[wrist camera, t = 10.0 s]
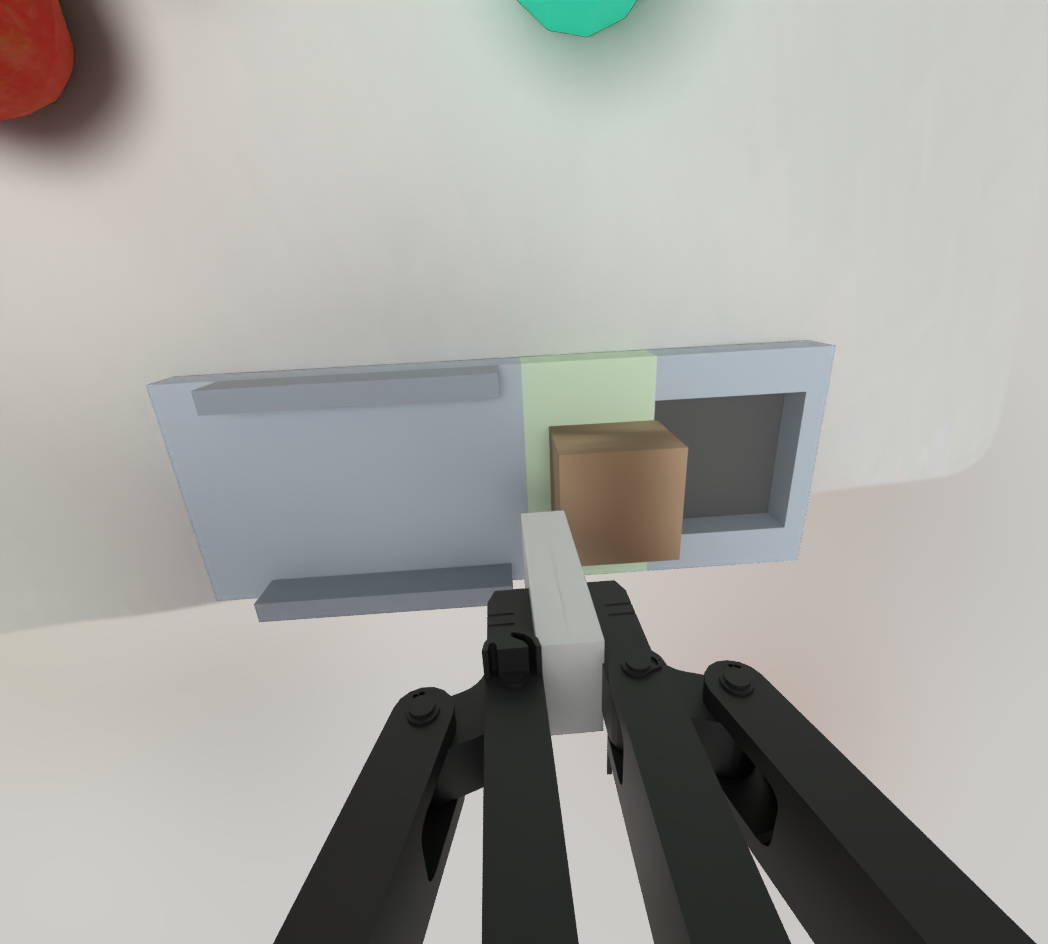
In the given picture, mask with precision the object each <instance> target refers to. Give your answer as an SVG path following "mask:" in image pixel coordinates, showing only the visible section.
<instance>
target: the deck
mask: <svg viewBox="0 0 1048 944" xmlns="http://www.w3.org/2000/svg"><path fill="white" fill-rule="evenodd" d="M835 347H836V346H835V345H829V344H824V343H819V342H814V341H792V342H774V343H757V344H739V345H722V346H704V347H687V348H669V349H652V350H634V351H616V352H599V353H581V354H564V355H546V356H529V357H511V358H493V359H476V360H458V361H441V362H423V363H406V364H388V365H370V366H353V367H335V368H318V369H300V370H283V371H265V372H247V373H230V374H212V375H195V376H177V377H172V378H168V379H165V380H162V381H159V382H155V383H152V384H149V385H146V387H147V390H148V393H149V396H150V399H151V402H152V405H153V408H154V411H155V414H156V417H157V420H158V423H159V426H160V429H161V432H162V435H163V438H164V441H165V444H166V447H167V450H168V454H169V457H170V460H171V463H172V466H173V469H174V472H175V475H176V478H177V481H178V484H179V487H180V490H181V493H182V496H183V499H184V502H185V505H186V508H187V511H188V514H189V517H190V520H191V523H192V526H193V529H194V532H195V535H196V539H197V542H198V545H199V548H200V551H201V554H202V557H203V560H204V563H205V566H206V569H207V572H208V575H209V578H210V581H211V584H212V587H213V590H214V593H215V596H216V599H217V601H222V600H237V599H251V598H259V599H258V600H257V601H256V603H255V604H254V606H255V609H256V612H257V615H258V619H259V622H266V621H281V620H295V619H308V618H322V617H336V616H349V615H350V616H351V615H364V614H378V613H393V612H406V611H419V610H434V609H448V608H462V607H476V606H488V601H489V599H490V598H491V596H492V594H493V593H494V591H499V590H512V589H513V583H512V580H522V579H524V562H523V544H522V527H521V513H535V512H549V511H551V482H550V448H549V426H564V425H581V424H598V423H615V422H632V421H649V420H658V421H659V422H660V423H661V424H662V425H663V426H664V427H666V428H667V429H668V430H669V431H670V432H671V433H672V434H673V435H675V436H676V437H677V438H678V439H679V440H680V441H681V442H683V443H684V444H685V445H686V446H687V447H688V457H687V470H686V482H685V495H684V508H683V520H682V533H681V546H680V559H679V560H669V561H654V562H640V563H625V564H610V565H595V566H581V567H582V570H583V573H584V575H592V574H607V573H621V572H636V571H650V570H663V569H678V568H692V567H706V566H721V565H736V564H749V563H762V562H763V563H764V562H778V561H792V560H798V556H799V550H800V545H801V539H802V533H803V527H804V522H805V516H806V510H807V505H808V500H809V494H810V488H811V483H812V477H813V471H814V466H815V460H816V454H817V449H818V443H819V438H820V432H821V426H822V421H823V415H824V409H825V404H826V398H827V392H828V387H829V381H830V376H831V370H832V364H833V359H834V353H835Z"/></svg>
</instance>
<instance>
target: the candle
mask: <svg viewBox="0 0 1048 944" xmlns="http://www.w3.org/2000/svg"><path fill="white" fill-rule="evenodd" d="M518 1H519V2H520V3H521V4H522V5H523V6H524V7H525V8H526V9H527V10H528V11H529V12H530V13H531V14H532V15H533V16H534V17H535V18H536V19H537V20H538V21H539V22H540V23H541V24H542V25H543V26H544V27H545V28H546V29H547V30H550V31H556V32H562V33H568V34H574V35H579V36H585V37H588V36H590V35H592V34H594V33H596V32H598V31H600V30H602V29H604V28H606V27H608V26H610V25H612V24H614V23H616V22H618V21H620V20H622V19H624V18H625V17H626V16H627V14H628V13H629V11H630V10H631V8H632V7H633V5H634V4H635V2H636V1H637V0H518Z"/></svg>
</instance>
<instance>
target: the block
mask: <svg viewBox="0 0 1048 944" xmlns="http://www.w3.org/2000/svg"><path fill="white" fill-rule="evenodd" d="M549 448H550V482H551V511H563V510H564V512H565V515H566V518H567V522H568V525H569V528H570V531H571V534H572V538H573V541H574V544H575V547H576V550H577V554H578V557H579V560H580V563H581V566H595V565H610V564H625V563H640V562H654V561H669V560H679V559H680V546H681V533H682V520H683V508H684V495H685V482H686V470H687V457H688V447H687V446H686V445H685V444H684V443H683V442H681V441H680V440H679V439H678V438H677V437H676V436H675V435H673V434H672V433H671V432H670V431H669V430H668V429H667V428H666V427H664V426H663V425H662V424H661V423H660V422H659V421H658V420H649V421H632V422H615V423H598V424H581V425H564V426H549Z"/></svg>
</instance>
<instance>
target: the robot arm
mask: <svg viewBox="0 0 1048 944" xmlns="http://www.w3.org/2000/svg"><path fill="white" fill-rule="evenodd" d="M521 527H522V544H523V562H524V580H525V589H512V590H499V591H494V593H493V594H492V596H491V598H490V599H489V601H488V612H487V613H488V617H487V625H488V626H487V640H486V641H485V643H484V645H483V649H482V657H483V667H484V676H483V677H482V679H481V680H480V681H479V682H478V683H477V684H476V685H474V686H473V687H472V688H470V689H468V690H466V691H464V692H461V693H459V694H456V695H453V696H450V695H449V694H447V693H446V692H445V691H444V690H441V689H438V688H435V687H426V688H420V689H417V690H414V691H411V692H409V693H408V694H407V695H405V696H404V697H402V698H401V699H400V700H399V702H398V703H397V704H396V705H395V707H394V708H393V710H392V712H391V714H390V716H389V718H388V720H387V722H386V724H385V726H384V728H383V730H382V732H381V734H380V736H379V738H378V740H377V742H376V744H375V745H374V748H373V749H372V751H371V753H370V755H369V757H368V759H367V761H366V763H365V765H364V767H363V769H362V771H361V773H360V775H359V777H358V779H357V781H356V783H355V785H354V787H353V789H352V790H351V793H350V795H349V797H348V798H347V800H346V802H345V804H344V806H343V808H342V810H341V812H340V814H339V816H338V818H337V820H336V822H335V824H334V826H333V828H332V830H331V832H330V834H329V836H328V837H327V840H326V842H325V843H324V845H323V847H322V849H321V851H320V853H319V855H318V857H317V859H316V861H315V863H314V865H313V867H312V869H311V871H310V873H309V875H308V877H307V879H306V880H305V882H304V884H303V886H302V888H301V890H300V892H299V894H298V896H297V898H296V900H295V902H294V904H293V906H292V908H291V910H290V912H289V914H288V916H287V918H286V920H285V922H284V924H283V926H282V928H281V929H280V931H279V933H278V935H277V937H276V939H275V941H274V943H273V944H423V941H424V937H425V934H426V930H427V927H428V923H429V920H430V916H431V913H432V909H433V906H434V903H435V899H436V896H437V892H438V889H439V885H440V882H441V878H442V875H443V871H444V868H445V865H446V861H447V858H448V854H449V851H450V847H451V844H452V841H453V837H454V834H455V830H456V827H457V823H458V820H459V816H460V813H461V809H462V806H463V803H464V797H465V795H466V794H469V793H471V792H473V791H476V790H478V789H480V788H483V787H484V796H483V888H482V899H483V900H482V944H579V943H578V935H577V928H576V920H575V913H574V905H573V898H572V890H571V883H570V876H569V868H568V861H567V853H566V846H565V838H564V830H563V823H562V815H561V808H560V801H559V793H558V786H557V778H556V772H555V764H554V756H553V748H552V741H551V735H561V734H572V733H584V732H595V731H603V717H604V721H605V725H606V729H607V732H608V744H607V774H612V771H613V775H614V780H615V784H616V788H617V792H618V796H619V800H620V804H621V808H622V813H623V817H624V821H625V825H626V829H627V833H628V837H629V841H630V846H631V850H632V854H633V858H634V862H635V866H636V870H637V874H638V879H639V883H640V886H641V891H642V895H643V899H644V903H645V907H646V912H647V915H648V920H649V924H650V928H651V932H652V936H653V940H654V944H791V942H790V940H789V938H788V935H787V933H786V931H785V929H784V927H783V924H782V922H781V920H780V918H779V915H778V913H777V911H776V909H775V906H774V904H773V902H772V900H771V898H770V895H769V893H768V891H767V888H766V886H765V884H764V882H763V880H762V877H761V875H760V873H759V871H758V868H757V866H756V864H755V862H754V860H753V857H752V855H751V853H750V850H751V852H752V853H753V854H754V856H755V857H756V859H757V860H758V862H759V863H760V865H761V866H762V868H763V869H764V870H765V872H766V873H767V875H768V876H769V878H770V879H771V881H772V882H773V884H774V885H775V887H776V888H777V889H778V891H779V892H780V894H781V895H782V897H783V898H784V900H785V901H786V902H787V904H788V905H789V907H790V908H791V910H792V911H793V913H794V914H795V916H796V917H797V919H798V920H799V922H800V923H801V924H802V926H803V927H804V929H805V930H806V932H807V933H808V935H809V936H810V938H811V939H812V940H813V942H814V943H815V944H1036V943H1035V942H1034V941H1033V940H1032V939H1031V938H1030V937H1029V936H1028V935H1027V934H1026V933H1025V932H1024V931H1023V930H1022V929H1021V928H1020V927H1019V926H1018V925H1016V923H1015V922H1014V921H1013V920H1011V918H1009V917H1008V916H1007V915H1006V914H1005V913H1004V912H1003V911H1002V910H1001V909H1000V908H999V907H998V906H997V905H996V904H995V903H994V902H993V901H992V900H991V899H990V898H989V897H988V896H987V895H986V894H985V893H984V892H983V891H982V890H981V889H980V888H979V887H978V886H977V885H976V884H975V883H974V882H973V881H972V880H971V879H970V878H969V877H968V876H967V875H966V874H965V873H963V871H962V870H960V869H959V868H958V867H957V866H956V865H955V864H954V863H953V862H952V861H951V860H950V859H949V858H948V857H947V856H946V855H945V854H944V853H943V852H942V851H941V850H940V849H939V848H938V847H937V846H936V845H935V844H934V843H933V842H932V841H931V840H930V839H929V838H927V836H926V835H925V834H924V833H923V832H922V831H921V830H920V829H919V828H918V827H917V826H916V825H915V824H914V823H913V822H912V821H910V820H909V819H908V818H907V817H906V816H905V815H904V814H903V813H902V812H901V811H900V810H899V809H898V808H897V807H896V806H895V805H894V804H893V803H892V802H891V801H890V800H889V799H888V798H887V797H886V796H885V795H884V794H883V793H882V792H881V791H880V790H879V789H878V788H877V787H876V786H875V785H874V784H873V783H872V782H871V781H870V780H869V779H867V777H866V776H865V775H864V774H862V773H861V772H860V771H859V770H858V769H857V768H856V767H855V766H854V765H853V764H852V763H851V762H850V761H849V760H848V759H847V758H846V757H845V756H844V755H843V754H842V753H841V752H840V751H839V750H838V749H837V748H836V747H835V746H834V745H833V744H832V743H831V742H830V741H829V740H828V739H827V738H826V737H825V736H824V735H823V734H822V733H821V732H820V731H818V730H817V728H815V726H814V725H812V724H811V723H810V722H809V721H808V720H807V719H806V718H805V717H804V716H803V715H802V714H801V713H800V712H799V711H798V710H797V709H796V708H795V707H794V706H793V705H792V704H791V703H790V702H789V701H788V700H787V699H786V698H785V697H784V696H783V695H782V694H781V693H780V692H779V691H778V690H777V689H776V688H775V687H774V686H773V685H772V684H771V683H770V682H769V681H768V680H767V679H765V678H764V677H763V676H762V675H761V674H760V673H759V672H757V671H756V670H755V669H753V668H752V667H750V666H748V665H745V664H743V663H740V662H735V661H728V660H726V661H717V662H715V663H713V664H711V665H709V666H708V668H707V670H706V671H705V673H704V675H701V674H696V673H689V672H684V671H680V670H676V669H674V668H672V667H669V666H667V665H666V663H665V662H664V660H663V659H662V658H661V657H660V656H659V655H658V654H656V653H655V652H653V651H652V650H651V648H650V646H649V644H648V641H647V639H646V637H645V634H644V632H643V630H642V628H641V625H640V623H639V620H638V618H637V616H636V614H635V611H634V609H633V606H632V605H631V602H630V599H629V597H628V595H627V592H626V590H625V589H624V588H622V587H621V586H620V585H619V584H618V583H617V582H616V581H614V580H613V581H600V582H588V583H586V579H585V576H584V573H583V570H582V567H581V563H580V560H579V557H578V554H577V550H576V547H575V544H574V541H573V538H572V534H571V531H570V528H569V525H568V522H567V518H566V515H565V512H564V510H563V511H549V512H535V513H521ZM748 847H749V848H750V850H749V848H748Z"/></svg>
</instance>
